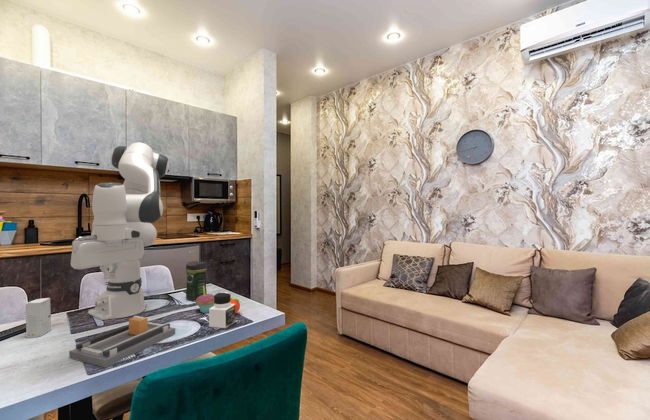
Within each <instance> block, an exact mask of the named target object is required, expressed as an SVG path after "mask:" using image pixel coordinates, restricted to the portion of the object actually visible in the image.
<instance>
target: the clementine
mask: <svg viewBox="0 0 650 420" xmlns="http://www.w3.org/2000/svg"><path fill="white" fill-rule="evenodd" d="M230 304H235V315H236V314H237V313H238V312H239V311H240V309H241V305H242V301H241V300H240V299H238V298H235V297H231V303H230Z"/></svg>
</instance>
